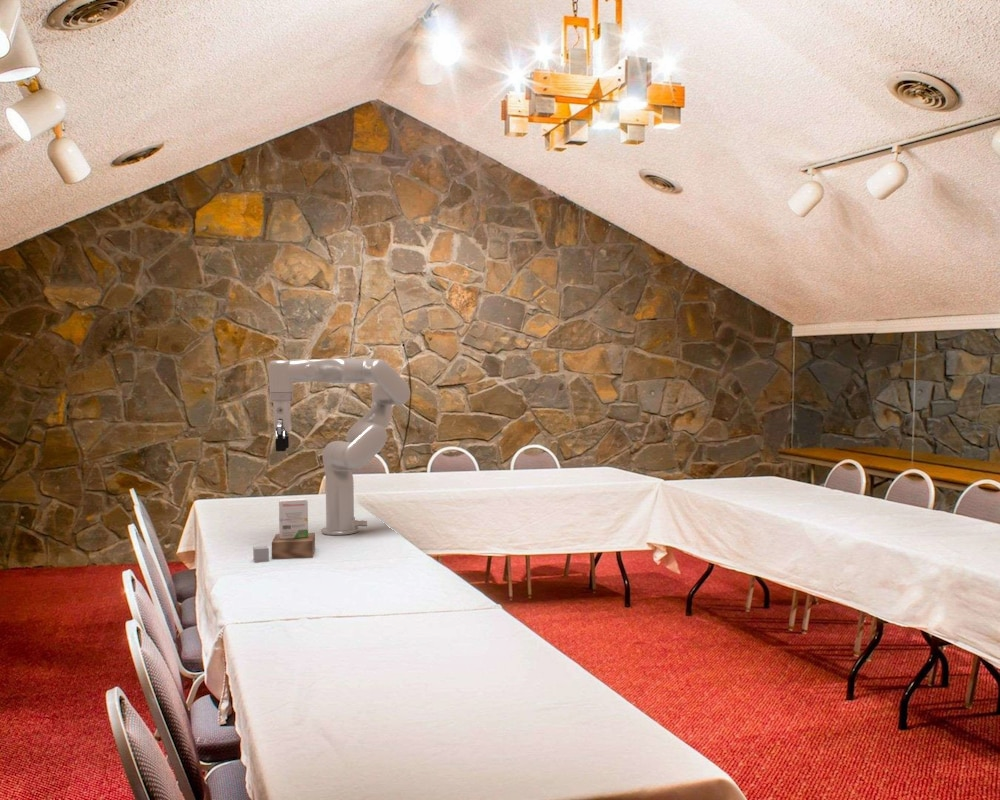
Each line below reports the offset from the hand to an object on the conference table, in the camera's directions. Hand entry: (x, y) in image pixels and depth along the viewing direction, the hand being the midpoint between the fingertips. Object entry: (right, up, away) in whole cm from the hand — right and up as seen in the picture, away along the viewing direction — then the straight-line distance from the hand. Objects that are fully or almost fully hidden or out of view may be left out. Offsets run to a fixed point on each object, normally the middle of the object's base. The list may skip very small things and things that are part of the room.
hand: (282, 449), depth 301 cm
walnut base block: (+8, -31, -19) cm, 37 cm away
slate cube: (0, -32, -28) cm, 42 cm away
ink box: (+8, -26, -19) cm, 33 cm away
